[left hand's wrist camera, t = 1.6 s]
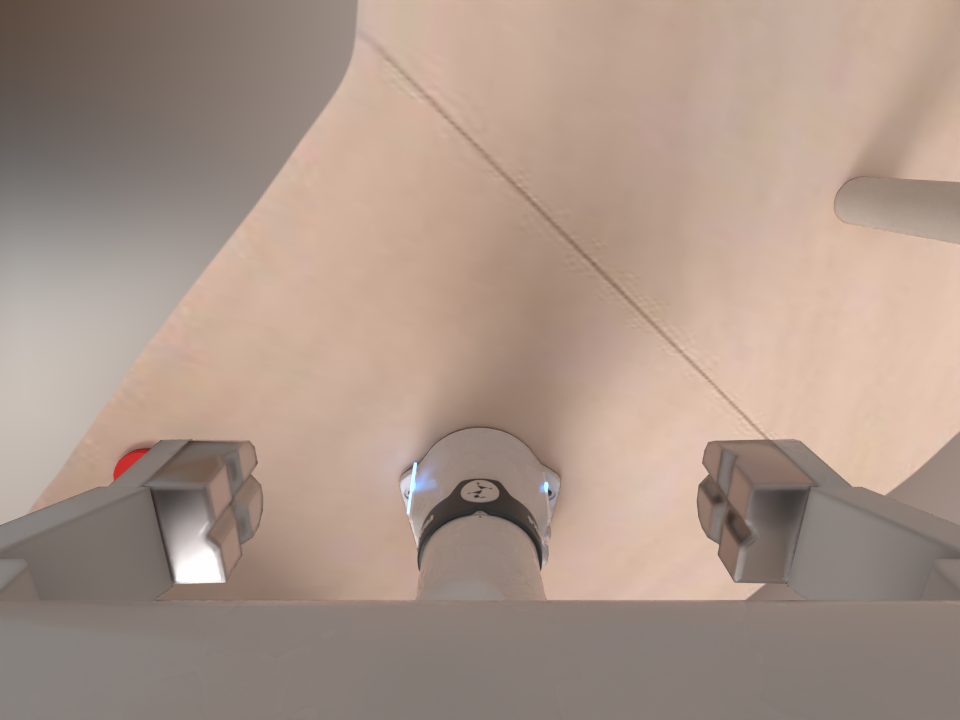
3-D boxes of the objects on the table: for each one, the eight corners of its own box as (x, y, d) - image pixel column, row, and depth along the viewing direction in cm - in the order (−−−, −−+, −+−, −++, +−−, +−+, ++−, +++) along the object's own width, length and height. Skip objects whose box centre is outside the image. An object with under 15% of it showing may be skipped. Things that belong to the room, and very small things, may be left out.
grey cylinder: (874, 223, 55) (1054, 254, 38) (829, 224, 55) (988, 255, 38) (885, 176, 54) (1077, 186, 37) (839, 176, 54) (1009, 187, 37)
